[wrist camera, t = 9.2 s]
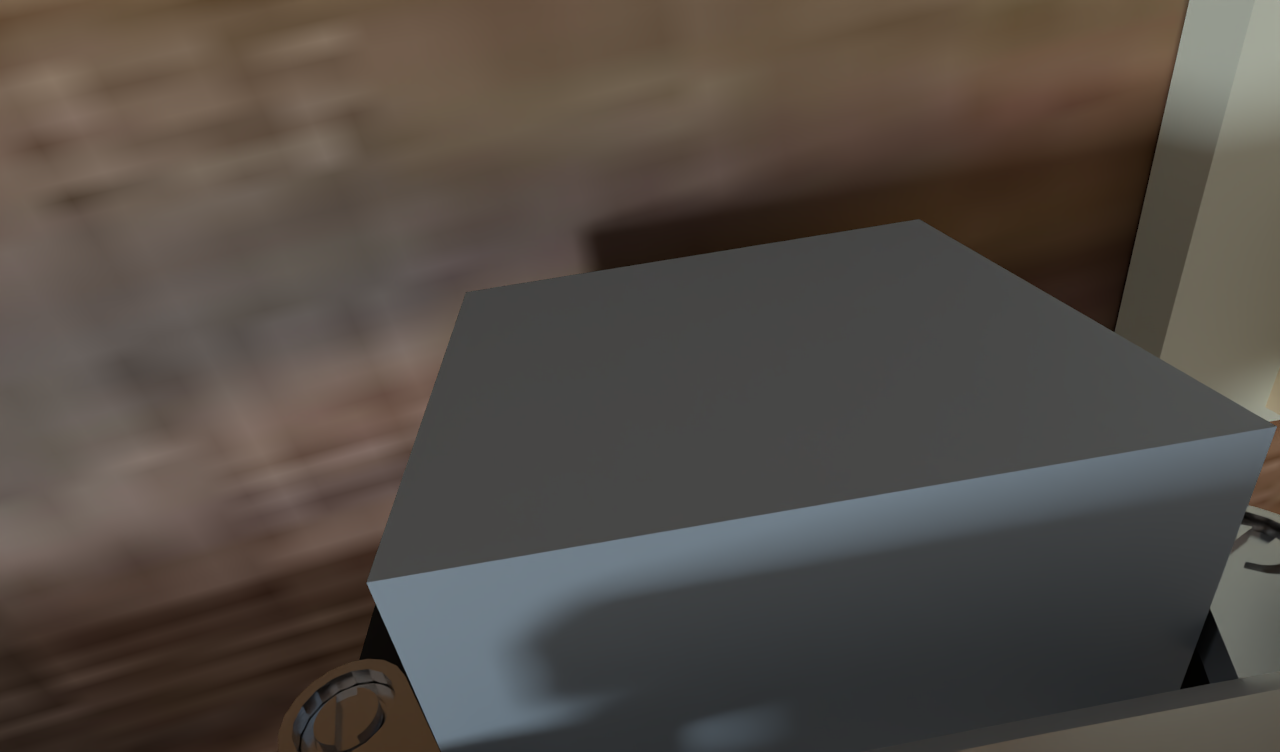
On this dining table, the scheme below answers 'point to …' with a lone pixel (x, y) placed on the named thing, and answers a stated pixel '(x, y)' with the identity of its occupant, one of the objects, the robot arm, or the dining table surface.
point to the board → (1215, 210)
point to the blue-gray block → (801, 506)
